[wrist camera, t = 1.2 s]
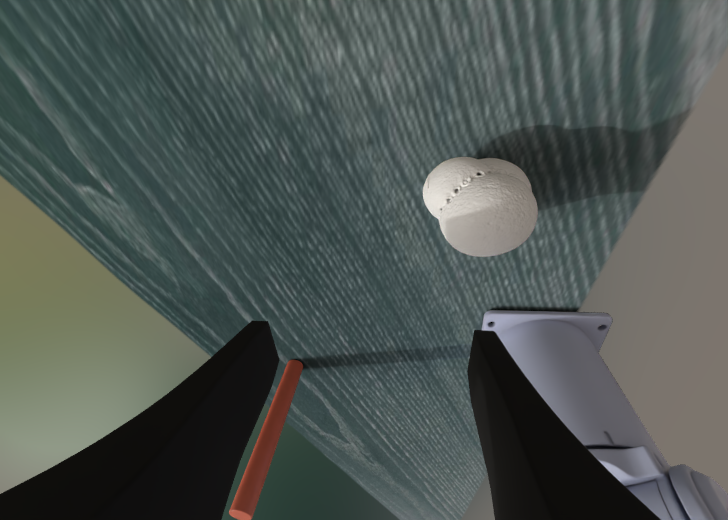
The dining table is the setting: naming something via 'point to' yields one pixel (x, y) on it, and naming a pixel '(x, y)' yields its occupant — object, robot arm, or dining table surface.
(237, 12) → the dining table surface
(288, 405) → the straw
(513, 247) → the microfossil shell
